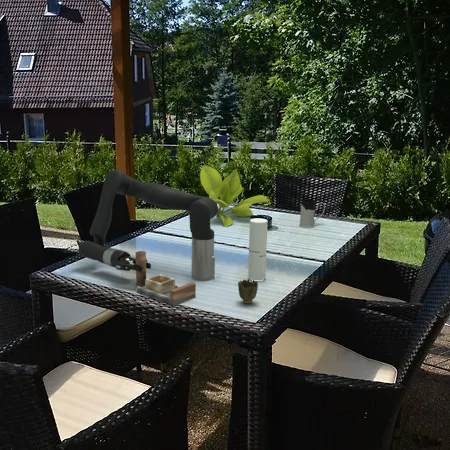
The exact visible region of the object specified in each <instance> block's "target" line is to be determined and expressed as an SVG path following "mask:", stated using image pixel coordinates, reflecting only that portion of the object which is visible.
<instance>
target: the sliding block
mask: <svg viewBox="0 0 450 450" xmlns="http://www.w3.org/2000/svg"><path fill="white" fill-rule="evenodd" d="M175 285H176V278H174V277H170V276H167V275H163V274H161V273H159V274H157V275H155V276H150V277H148V278H146V279H145V289H148V290H151V291H154V292H157V293H159V294H163V293H165V292H168V291H170V290H173V289H175Z"/></svg>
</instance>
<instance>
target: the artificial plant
mask: <svg viewBox="0 0 450 450" xmlns="http://www.w3.org/2000/svg"><path fill="white" fill-rule="evenodd" d="M199 175H200V182H201V183H200V184H201V186H202V187H203V189H204V191H205V193H207V195H209V196H208V198H211V199H213V200H214V201H215V202H216V203H217V205H218V213H217V215H216V216H215V217H216V218H221V220H222V223H223V227H224V228H226V227H228V226H229V227H230V225H232V224H233V218H232V217H229V216H228V215H229V214H231V215H234V216H237V217H250V216H254V214H253V211H252V209H251V208H250V207H249V206H250V205H253V204H260V203H261V204H262V203H266V202H267V203H268V202H270V199H268V198H267V197H266V196H265V195H262V194H260V195H255V196H251V197H249V198H245V199H244V200H242V201H241V202H239V203H238V204H236V205H235V206H232V207H230V208H229V206H231V205H232V203H233V201H234V200H236V198H238V196H239V195H241V194H242V192H243V191H244V190H245V187H242V184H241V179H240V175H239V173H238V170H237V169H236V168H235V169H234V170H232V172H231V173H230V174H229V175H228V176H226V177H225V179H223V178H222V176H221V174H220V172H218V170H217V169H215V168H214V167H211V166H209V165H205V164H204V165H202V166H201V168H200V174H199ZM225 208H228V209H226V210H225ZM229 211H230V212H229Z"/></svg>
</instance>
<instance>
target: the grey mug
mask: <svg viewBox="0 0 450 450" xmlns="http://www.w3.org/2000/svg"><path fill="white" fill-rule="evenodd" d="M321 204H323V206H324V207H323V211H322V213H321V214H320V215H319V216H318V217H316V219H315V213H316V211H317V210H318V209H319V205H321ZM316 206H317V207H316ZM315 208H316V209H315ZM325 210H326V204H325V203H324V202H318V204H317V205H316V199H313V198H312V199H310V198H303V199H301V204H300V218H299V222H300V223H299V225H298V227H300V228H304V229H312V228H315V227H316V226H315V223H316V221H317V220H318V219H320V218H321V217H322V216H323V214H324V213H325Z"/></svg>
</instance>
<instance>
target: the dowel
mask: <svg viewBox="0 0 450 450" xmlns="http://www.w3.org/2000/svg"><path fill="white" fill-rule="evenodd" d="M135 258H136V264H137V265H140V266H142V272H139V271H136V270H135V277H136V278H135V281H136V283H135V284H136V288H137V287H138V286H139V287H143V286H145V279H147V268H146V259H147V252H146V251H144V250H138V251H136V252H135Z"/></svg>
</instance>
